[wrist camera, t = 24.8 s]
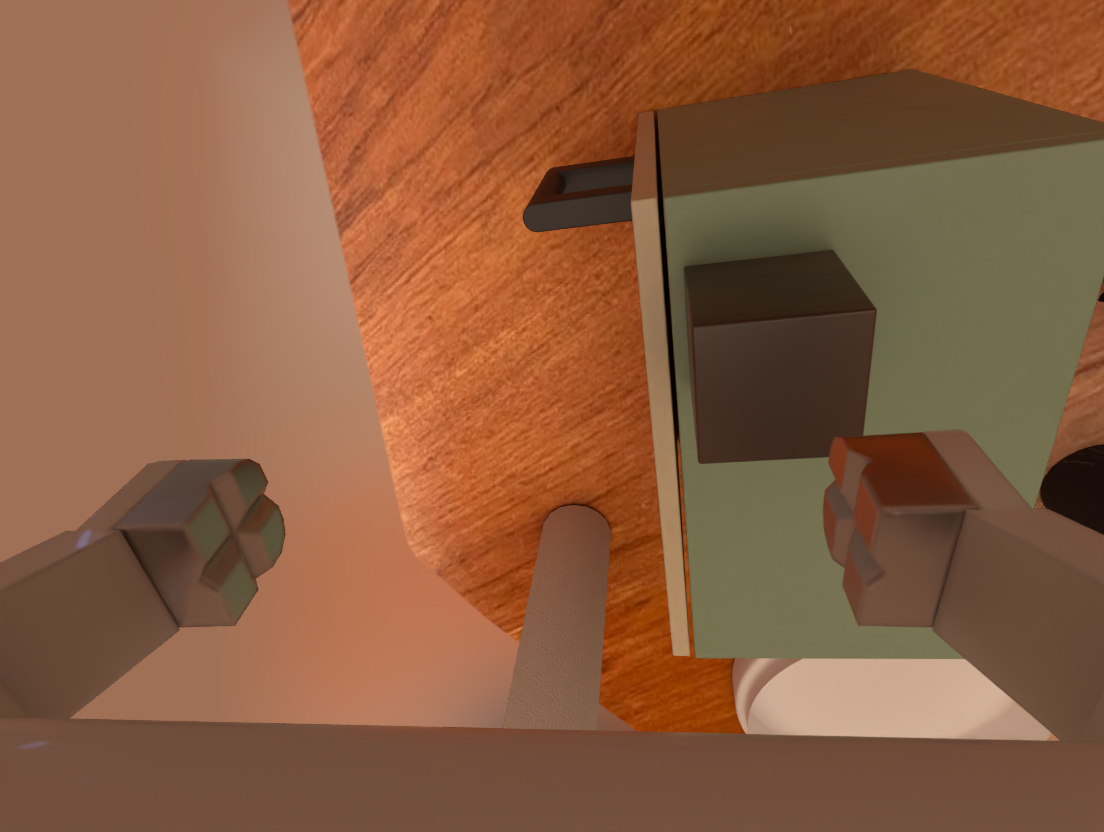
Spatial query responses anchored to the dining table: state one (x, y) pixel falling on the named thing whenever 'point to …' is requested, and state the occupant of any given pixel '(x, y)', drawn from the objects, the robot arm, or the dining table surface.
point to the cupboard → (881, 312)
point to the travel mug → (1078, 488)
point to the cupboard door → (635, 197)
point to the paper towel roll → (563, 626)
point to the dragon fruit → (1101, 298)
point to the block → (777, 356)
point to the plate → (876, 699)
